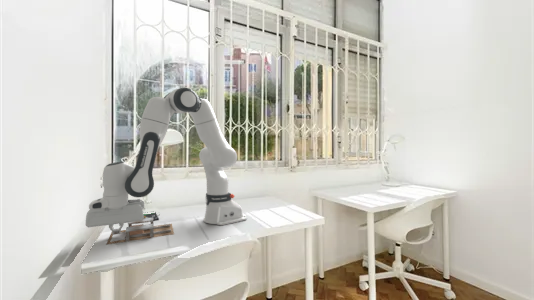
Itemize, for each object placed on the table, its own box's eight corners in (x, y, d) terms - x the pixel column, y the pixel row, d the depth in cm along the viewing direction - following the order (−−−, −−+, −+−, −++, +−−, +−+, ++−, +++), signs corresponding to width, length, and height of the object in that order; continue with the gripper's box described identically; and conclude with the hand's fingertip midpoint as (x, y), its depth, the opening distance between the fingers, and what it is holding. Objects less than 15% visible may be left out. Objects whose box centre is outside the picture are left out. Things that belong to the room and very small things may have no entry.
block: (143, 230, 105) (143, 224, 105) (143, 234, 100) (143, 227, 100) (130, 232, 103) (130, 225, 103) (129, 236, 98) (129, 229, 98)
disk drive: (159, 224, 119) (155, 215, 132) (159, 218, 119) (155, 210, 132) (136, 228, 114) (133, 218, 126) (136, 222, 114) (133, 213, 126)
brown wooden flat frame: (171, 226, 114) (171, 214, 114) (174, 237, 102) (174, 224, 101) (111, 235, 104) (111, 222, 103) (106, 248, 91) (105, 233, 91)
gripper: (144, 197, 105) (144, 227, 106) (87, 201, 96) (88, 235, 97) (144, 200, 99) (144, 232, 100) (83, 205, 90) (84, 241, 91)
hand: (116, 233), depth 98 cm, fingers closed
